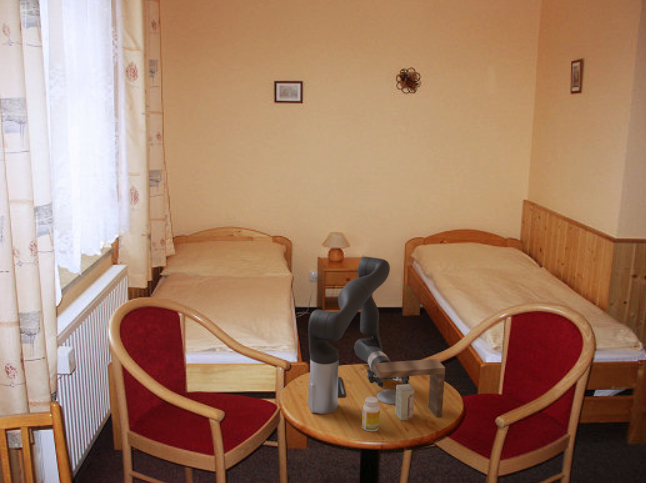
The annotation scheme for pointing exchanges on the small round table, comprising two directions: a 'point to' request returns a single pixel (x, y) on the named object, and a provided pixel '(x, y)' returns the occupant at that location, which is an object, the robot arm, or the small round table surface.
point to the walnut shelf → (416, 369)
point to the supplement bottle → (370, 414)
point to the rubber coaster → (387, 396)
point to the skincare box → (404, 401)
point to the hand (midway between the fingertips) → (394, 384)
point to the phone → (340, 388)
